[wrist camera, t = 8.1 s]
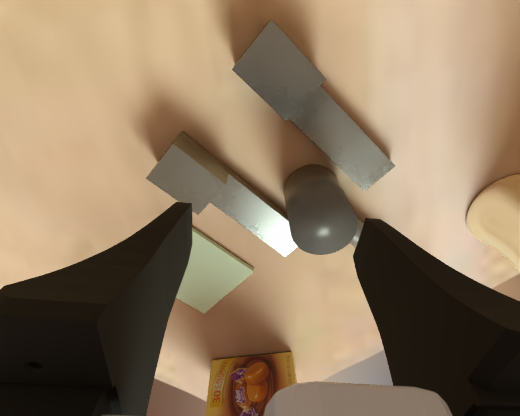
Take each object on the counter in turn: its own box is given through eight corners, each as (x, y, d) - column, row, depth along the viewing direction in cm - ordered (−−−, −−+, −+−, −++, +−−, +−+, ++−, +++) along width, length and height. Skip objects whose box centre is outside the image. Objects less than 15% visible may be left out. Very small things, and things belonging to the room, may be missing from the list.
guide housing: (157, 162, 21) (146, 178, 19) (269, 20, 17) (271, 19, 15) (280, 252, 25) (283, 274, 23) (395, 156, 21) (411, 172, 19)
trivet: (129, 267, 26) (128, 270, 26) (176, 216, 23) (175, 219, 23) (204, 310, 29) (204, 313, 29) (253, 268, 26) (254, 271, 26)
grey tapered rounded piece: (272, 192, 23) (276, 230, 18) (312, 153, 21) (326, 185, 17) (356, 259, 26) (376, 306, 22) (395, 230, 24) (425, 274, 20)
